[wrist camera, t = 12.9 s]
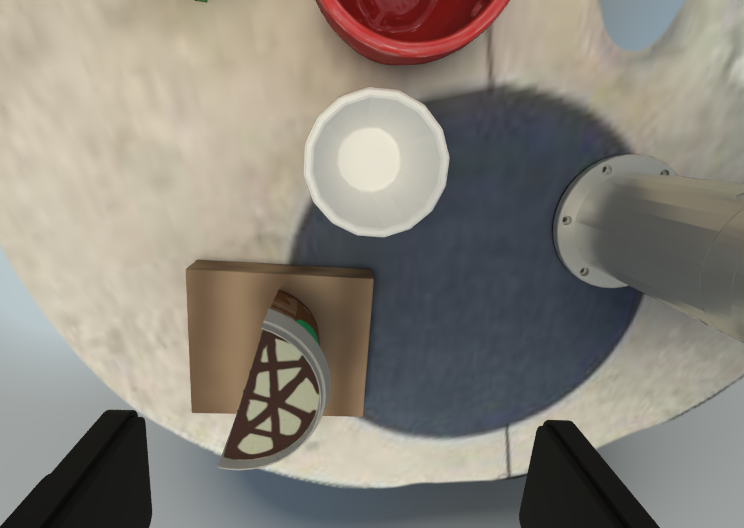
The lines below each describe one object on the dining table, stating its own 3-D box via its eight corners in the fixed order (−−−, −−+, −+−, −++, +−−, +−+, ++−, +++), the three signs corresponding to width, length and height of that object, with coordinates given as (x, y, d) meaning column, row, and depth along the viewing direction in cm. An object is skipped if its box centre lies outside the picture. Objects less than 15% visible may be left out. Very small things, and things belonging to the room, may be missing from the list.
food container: (308, 410, 41) (299, 493, 31) (245, 393, 40) (215, 473, 30) (350, 294, 38) (354, 347, 28) (283, 273, 37) (263, 320, 27)
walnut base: (371, 269, 41) (373, 279, 38) (361, 398, 44) (362, 416, 41) (197, 259, 39) (185, 269, 36) (201, 394, 43) (191, 412, 40)
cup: (392, 77, 36) (409, 56, 27) (443, 182, 39) (473, 194, 30) (289, 136, 37) (273, 134, 28) (347, 235, 40) (349, 263, 31)
